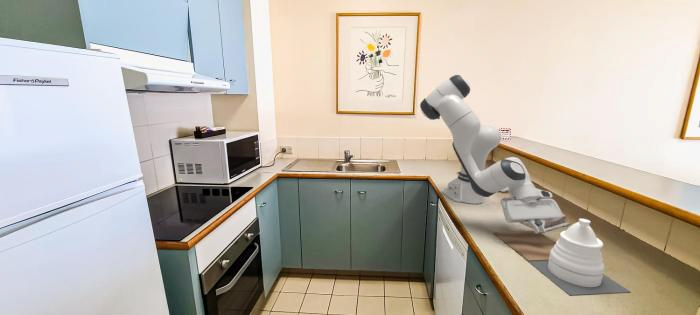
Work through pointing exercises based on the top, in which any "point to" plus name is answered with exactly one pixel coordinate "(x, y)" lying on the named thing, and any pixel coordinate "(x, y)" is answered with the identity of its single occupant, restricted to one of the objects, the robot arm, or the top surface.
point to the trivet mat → (572, 289)
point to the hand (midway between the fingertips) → (540, 233)
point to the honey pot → (578, 256)
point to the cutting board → (528, 244)
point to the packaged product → (552, 223)
